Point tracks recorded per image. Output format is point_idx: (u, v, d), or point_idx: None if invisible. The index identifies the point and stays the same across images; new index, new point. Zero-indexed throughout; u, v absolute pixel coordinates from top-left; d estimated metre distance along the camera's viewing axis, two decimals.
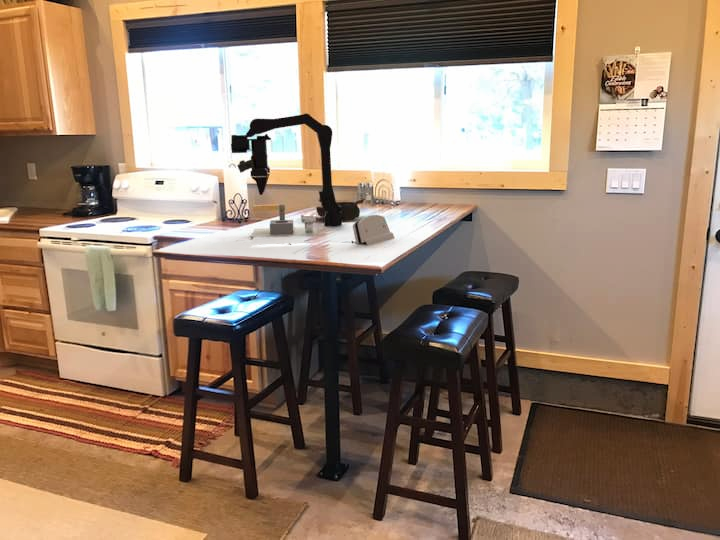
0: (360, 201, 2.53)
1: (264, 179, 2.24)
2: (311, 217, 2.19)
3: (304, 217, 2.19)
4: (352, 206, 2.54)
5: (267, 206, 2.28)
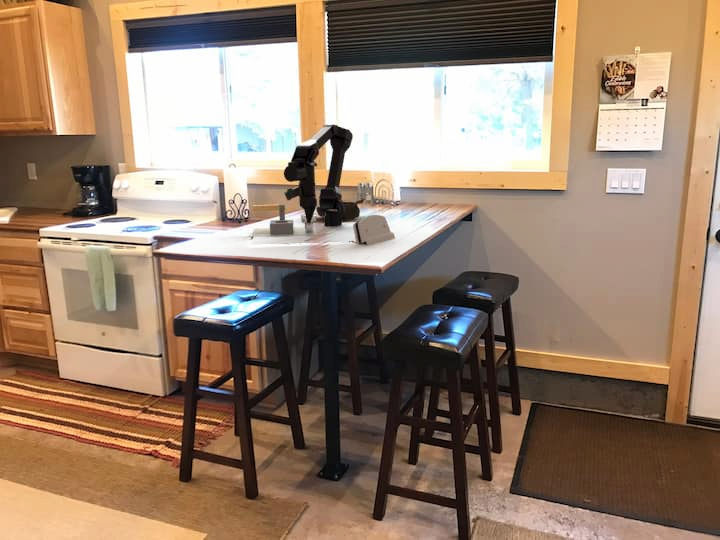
0: (360, 201, 2.53)
1: (313, 207, 2.16)
2: None
3: (304, 217, 2.19)
4: (352, 206, 2.54)
5: (267, 206, 2.28)
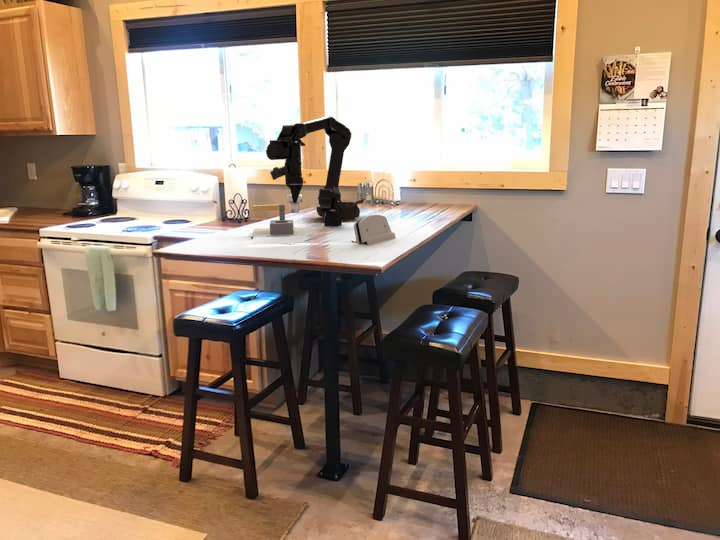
0: (360, 201, 2.53)
1: (299, 187, 2.14)
2: None
3: (290, 197, 2.17)
4: (352, 206, 2.54)
5: (267, 206, 2.28)
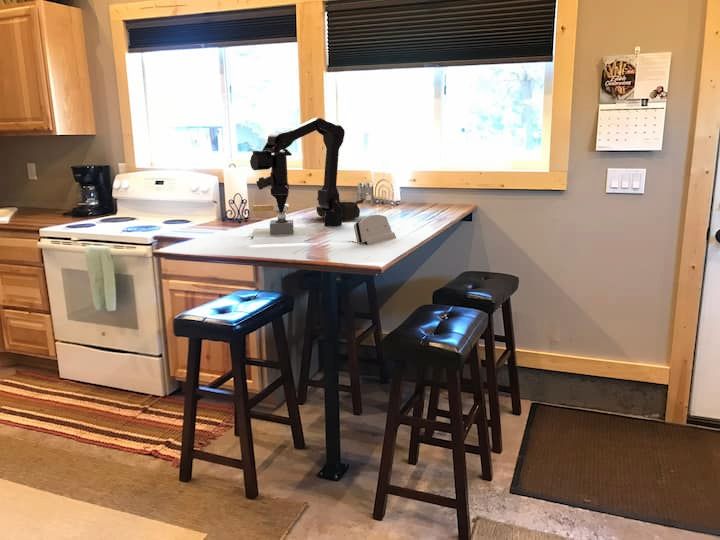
0: (360, 201, 2.53)
1: (284, 196, 2.15)
2: None
3: (276, 206, 2.18)
4: (352, 206, 2.54)
5: (267, 206, 2.28)
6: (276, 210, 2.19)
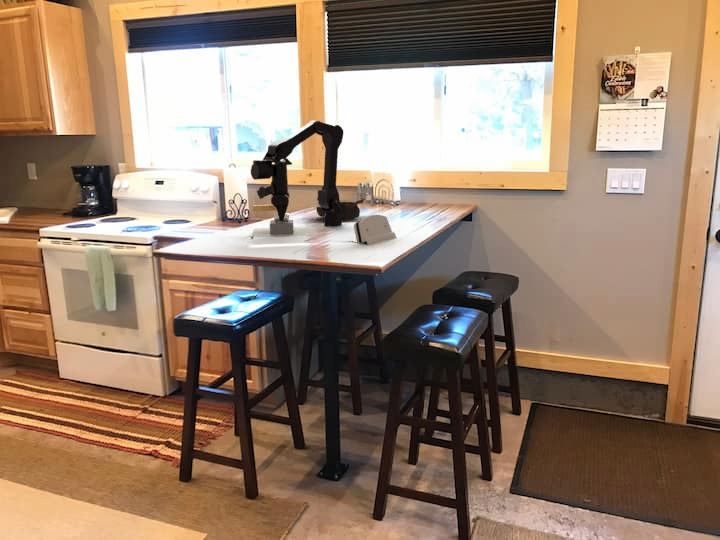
0: (360, 201, 2.53)
1: (285, 205, 2.16)
2: None
3: (277, 215, 2.19)
4: (352, 206, 2.54)
5: (267, 206, 2.28)
6: (276, 219, 2.20)
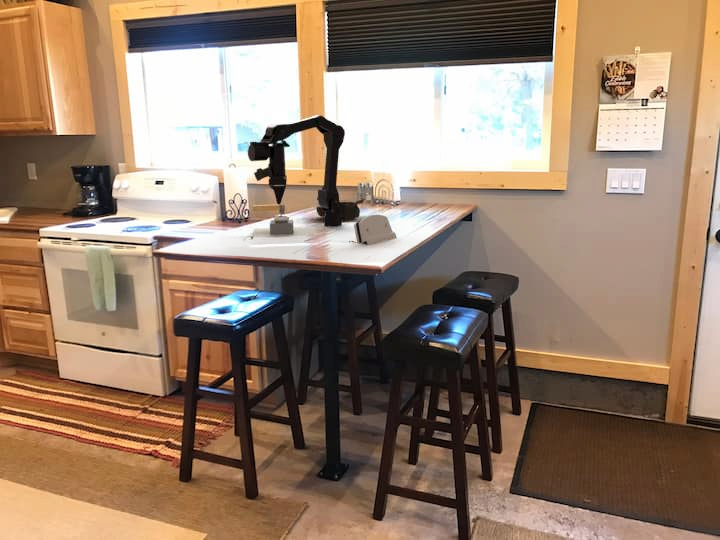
0: (360, 201, 2.53)
1: (282, 188, 2.14)
2: (284, 217, 2.19)
3: (277, 217, 2.19)
4: (352, 206, 2.54)
5: (267, 206, 2.28)
6: (276, 221, 2.20)
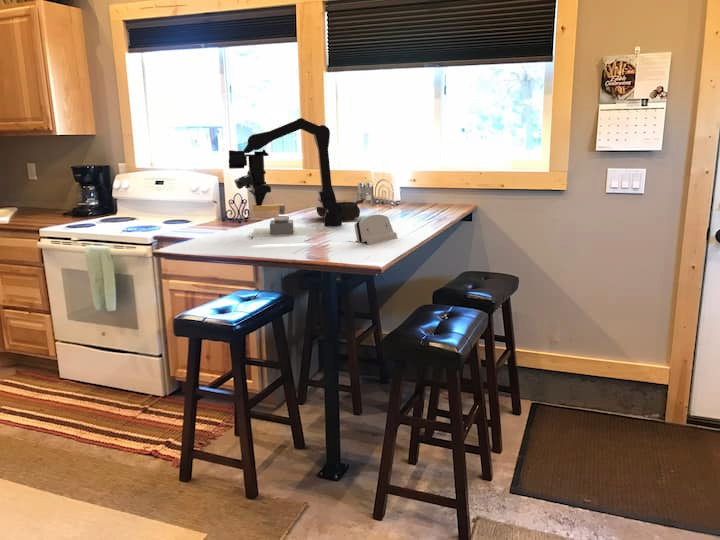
0: (360, 201, 2.53)
1: (263, 194, 2.28)
2: (284, 217, 2.19)
3: (277, 217, 2.19)
4: (352, 206, 2.54)
5: (267, 206, 2.28)
6: (276, 221, 2.20)
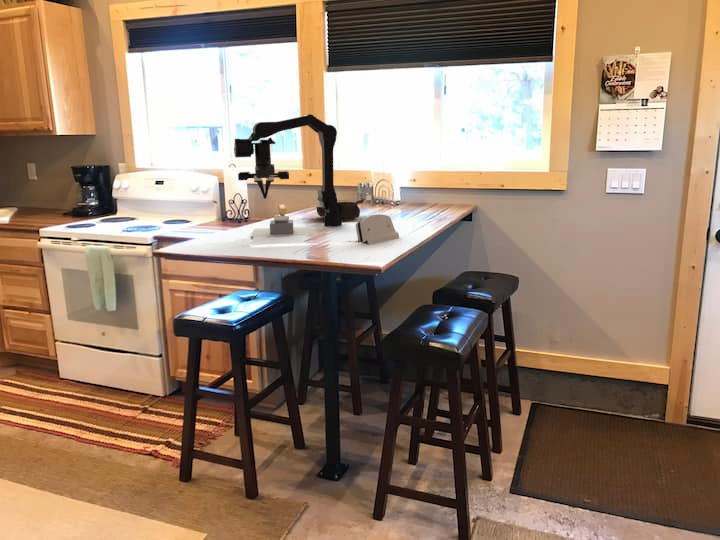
0: (360, 201, 2.53)
1: None
2: (284, 217, 2.19)
3: (277, 217, 2.19)
4: (352, 206, 2.54)
5: (284, 207, 2.25)
6: (276, 221, 2.20)
